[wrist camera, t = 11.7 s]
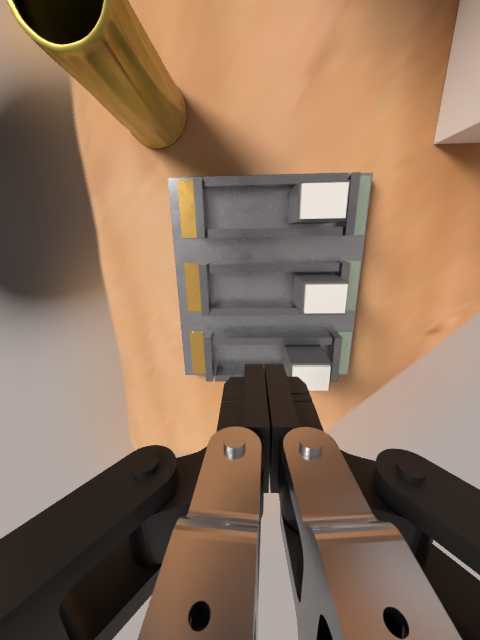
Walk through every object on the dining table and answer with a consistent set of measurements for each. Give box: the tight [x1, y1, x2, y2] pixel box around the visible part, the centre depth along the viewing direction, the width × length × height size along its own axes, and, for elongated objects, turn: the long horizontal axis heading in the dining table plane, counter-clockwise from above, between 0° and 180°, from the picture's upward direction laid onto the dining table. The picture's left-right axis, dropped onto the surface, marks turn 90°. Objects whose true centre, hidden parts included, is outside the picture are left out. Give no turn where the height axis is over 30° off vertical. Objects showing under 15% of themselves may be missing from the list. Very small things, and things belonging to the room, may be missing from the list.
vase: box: [6, 0, 186, 148], centre depth 19 cm, size 6×6×14 cm
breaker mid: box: [292, 273, 349, 314], centre depth 26 cm, size 3×4×6 cm
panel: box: [168, 172, 373, 382], centre depth 29 cm, size 22×20×4 cm
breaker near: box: [288, 180, 350, 224], centre depth 24 cm, size 3×4×6 cm
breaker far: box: [283, 345, 332, 391], centre depth 29 cm, size 3×4×6 cm
